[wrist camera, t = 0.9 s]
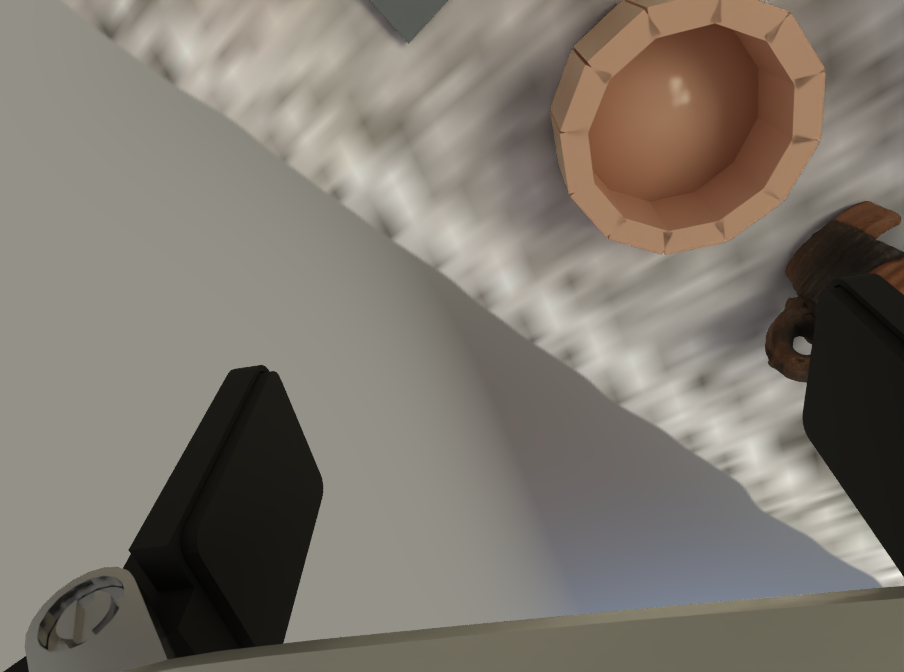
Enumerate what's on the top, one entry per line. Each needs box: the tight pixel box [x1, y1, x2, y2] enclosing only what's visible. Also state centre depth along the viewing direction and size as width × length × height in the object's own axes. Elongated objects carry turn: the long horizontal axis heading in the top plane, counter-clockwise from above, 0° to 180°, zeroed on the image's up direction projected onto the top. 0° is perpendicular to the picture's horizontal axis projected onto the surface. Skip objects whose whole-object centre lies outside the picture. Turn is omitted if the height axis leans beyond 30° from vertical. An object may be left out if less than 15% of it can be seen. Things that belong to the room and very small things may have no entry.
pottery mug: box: [765, 201, 904, 382], centre depth 35 cm, size 12×10×8 cm
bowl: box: [550, 0, 826, 255], centre depth 29 cm, size 11×11×5 cm
